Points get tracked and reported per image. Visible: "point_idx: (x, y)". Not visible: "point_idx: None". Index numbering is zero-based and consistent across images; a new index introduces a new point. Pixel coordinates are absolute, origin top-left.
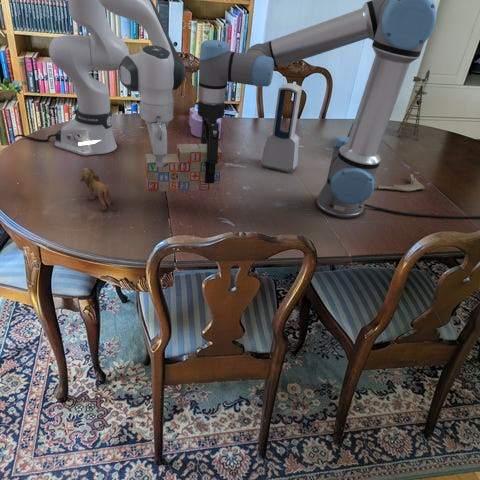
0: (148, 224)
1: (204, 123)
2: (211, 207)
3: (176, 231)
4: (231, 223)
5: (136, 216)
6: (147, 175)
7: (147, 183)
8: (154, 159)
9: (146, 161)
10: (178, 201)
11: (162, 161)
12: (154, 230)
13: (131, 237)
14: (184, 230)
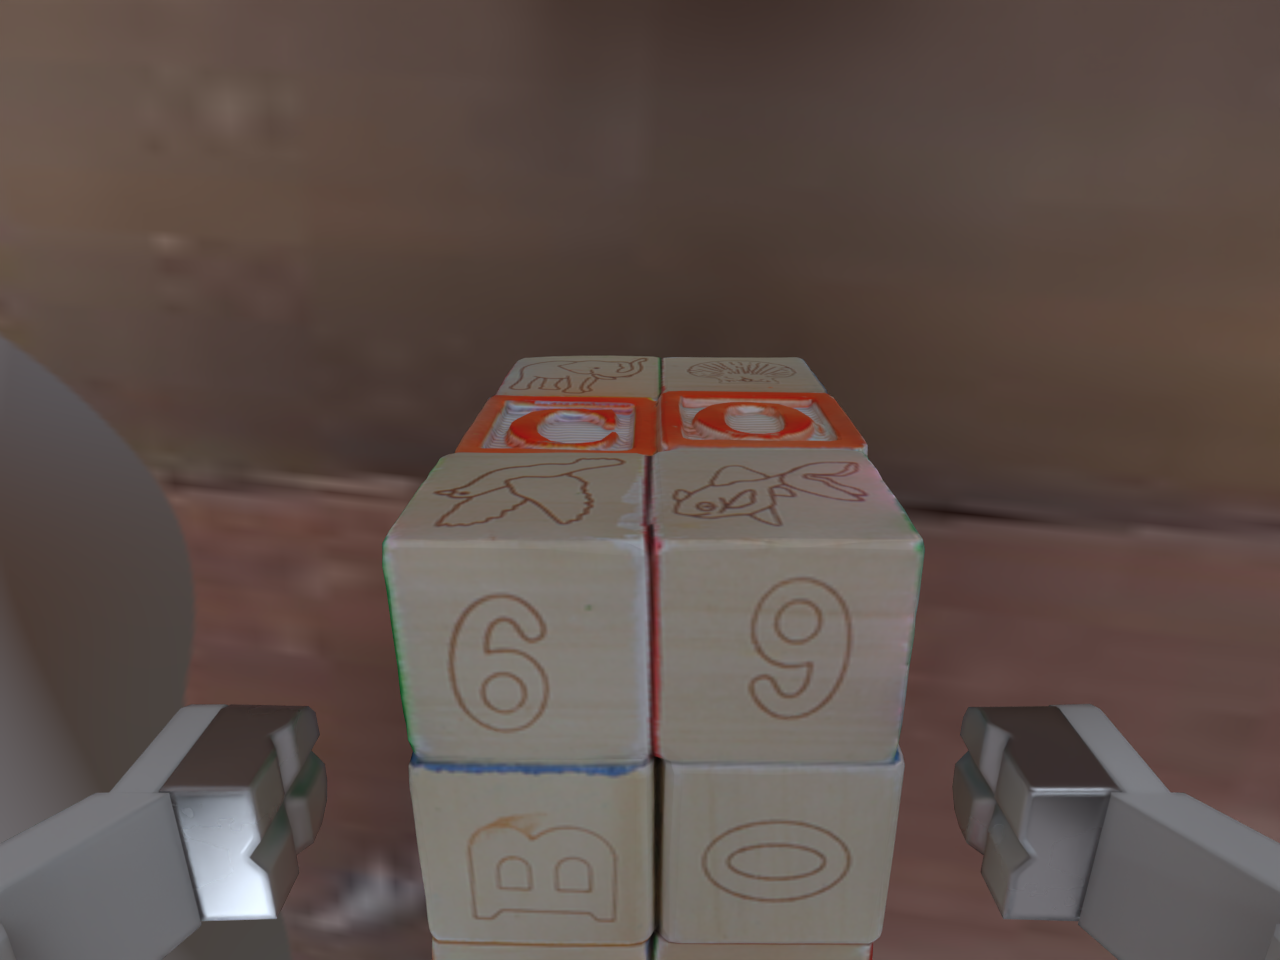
0: (300, 287)
1: None
2: None
3: (196, 524)
4: (352, 915)
5: (458, 172)
6: (514, 426)
7: (542, 382)
8: (575, 704)
9: (657, 503)
10: None
11: (463, 842)
12: (193, 336)
13: (34, 95)
14: (219, 588)
